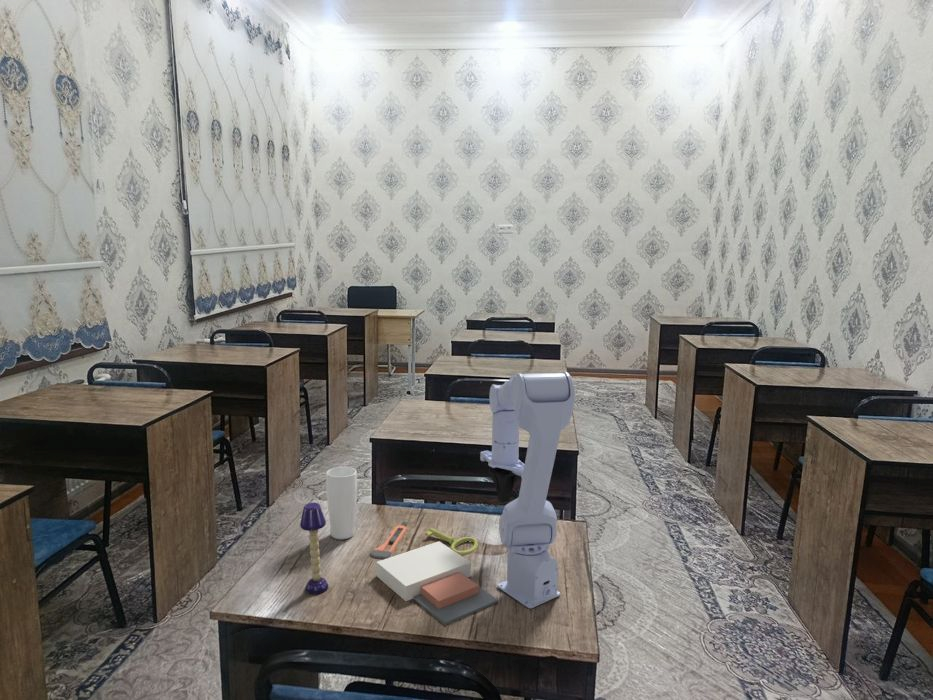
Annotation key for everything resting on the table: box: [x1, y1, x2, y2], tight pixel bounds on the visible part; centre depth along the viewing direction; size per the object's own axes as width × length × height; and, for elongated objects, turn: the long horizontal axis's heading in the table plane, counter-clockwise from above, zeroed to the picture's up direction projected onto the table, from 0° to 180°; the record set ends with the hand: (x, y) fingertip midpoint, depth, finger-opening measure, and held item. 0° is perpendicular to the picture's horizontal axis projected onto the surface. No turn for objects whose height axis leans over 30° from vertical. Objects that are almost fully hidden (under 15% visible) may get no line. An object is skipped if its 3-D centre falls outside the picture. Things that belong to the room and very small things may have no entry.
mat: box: [412, 586, 499, 626], centre depth 115 cm, size 10×12×1 cm
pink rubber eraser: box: [421, 572, 480, 609], centre depth 116 cm, size 6×9×2 cm, turn 126°
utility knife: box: [369, 520, 408, 560], centre depth 139 cm, size 4×1×18 cm
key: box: [424, 527, 479, 556], centre depth 136 cm, size 7×12×2 cm, turn 72°
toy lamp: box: [299, 502, 329, 595], centre depth 117 cm, size 5×5×17 cm
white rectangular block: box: [375, 541, 472, 602], centre depth 123 cm, size 11×15×3 cm
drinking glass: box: [325, 466, 358, 541], centre depth 139 cm, size 7×7×15 cm
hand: (504, 500), depth 134 cm, fingers closed
